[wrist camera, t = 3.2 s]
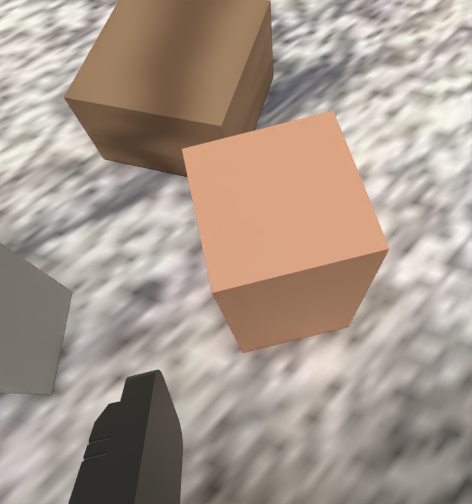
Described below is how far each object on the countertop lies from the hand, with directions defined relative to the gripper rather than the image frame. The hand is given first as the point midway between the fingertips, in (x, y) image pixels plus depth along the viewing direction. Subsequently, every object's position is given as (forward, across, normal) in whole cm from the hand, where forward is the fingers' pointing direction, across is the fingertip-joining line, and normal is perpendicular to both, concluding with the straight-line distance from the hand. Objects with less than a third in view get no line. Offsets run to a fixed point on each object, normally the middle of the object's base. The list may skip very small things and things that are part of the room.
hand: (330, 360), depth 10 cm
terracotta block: (+10, 0, +3) cm, 11 cm away
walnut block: (+19, +2, -5) cm, 20 cm away
